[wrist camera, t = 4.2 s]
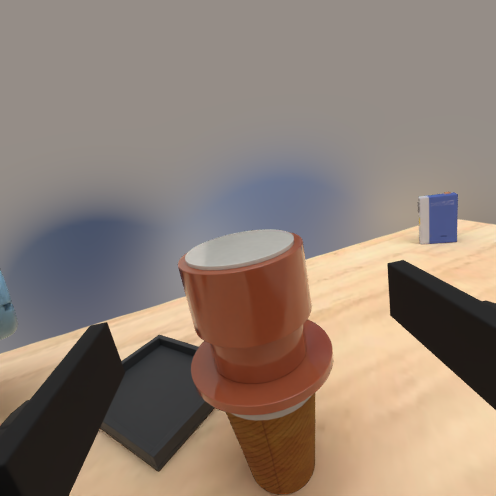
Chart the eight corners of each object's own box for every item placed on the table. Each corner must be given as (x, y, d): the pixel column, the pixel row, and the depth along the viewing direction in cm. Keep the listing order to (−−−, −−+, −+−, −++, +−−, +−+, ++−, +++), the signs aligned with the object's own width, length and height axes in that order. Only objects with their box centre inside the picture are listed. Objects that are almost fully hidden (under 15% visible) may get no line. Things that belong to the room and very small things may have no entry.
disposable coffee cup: (265, 408, 36) (247, 320, 32) (345, 438, 30) (333, 337, 27) (214, 482, 28) (184, 379, 25) (308, 541, 23) (285, 419, 19)
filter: (359, 394, 20) (346, 251, 17) (185, 432, 20) (141, 293, 17) (307, 307, 32) (295, 215, 29) (198, 330, 32) (174, 239, 29)
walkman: (453, 238, 75) (454, 190, 71) (456, 241, 72) (457, 192, 69) (418, 240, 78) (417, 195, 74) (420, 244, 75) (419, 197, 72)
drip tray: (74, 409, 41) (69, 397, 41) (162, 344, 53) (159, 334, 53) (158, 471, 30) (153, 457, 30) (245, 372, 42) (243, 360, 42)
